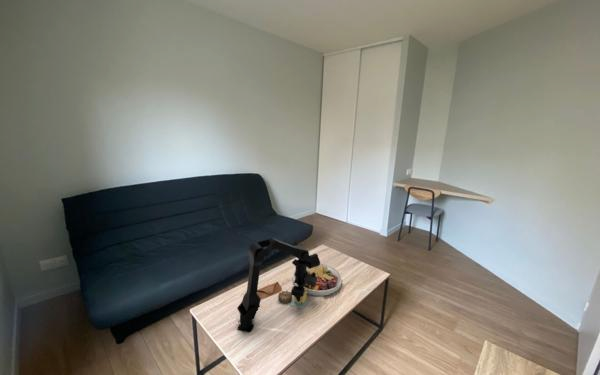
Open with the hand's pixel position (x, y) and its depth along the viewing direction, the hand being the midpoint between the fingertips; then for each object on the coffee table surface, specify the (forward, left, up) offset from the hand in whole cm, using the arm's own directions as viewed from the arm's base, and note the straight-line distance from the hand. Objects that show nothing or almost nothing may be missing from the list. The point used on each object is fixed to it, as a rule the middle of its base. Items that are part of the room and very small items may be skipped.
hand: (300, 297), depth 128 cm
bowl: (+22, -7, -5) cm, 23 cm away
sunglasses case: (+4, +19, -5) cm, 20 cm away
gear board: (0, +4, -4) cm, 6 cm away
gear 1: (0, +8, -3) cm, 9 cm away
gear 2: (0, 0, -1) cm, 1 cm away
